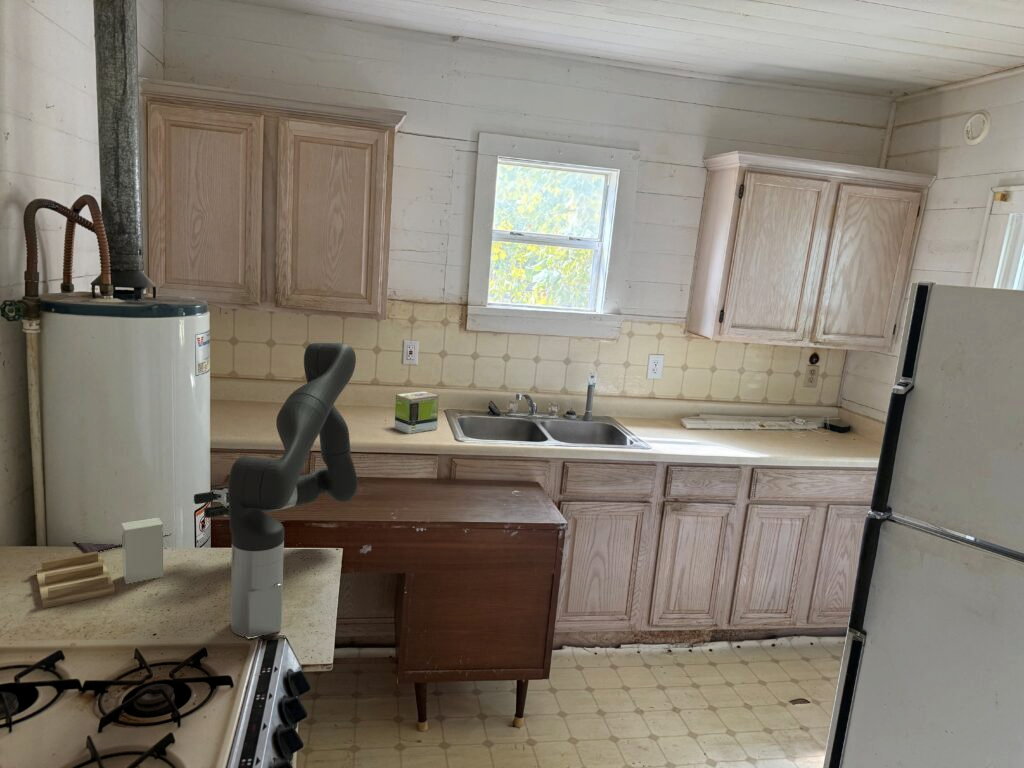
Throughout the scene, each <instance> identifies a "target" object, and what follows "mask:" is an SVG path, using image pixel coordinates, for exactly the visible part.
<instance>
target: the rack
mask: <svg viewBox="0 0 1024 768" xmlns="http://www.w3.org/2000/svg"><path fill="white" fill-rule="evenodd" d="M36 575H37V576H36ZM35 576H36V580H38V581H37V585H38V590H39V595H40V599H41V604H42V609H47V608H48V609H49V608H51V607H56V606H61V605H66V604H71V603H75V602H80V601H85V600H89V599H94V598H99V597H103V596H110V595H113V594H116V586H115V584H114V582H113V580H112V578H111V575H110V572H109V570H108V567H107V565H106V563H105V560H104V557H103V556H99V553H98V552H97V551H96V552H90V553H86V552H85V553H80V554H73V555H68V556H67V555H66V556H62V557H61V556H60V557H56V558H51V559H43V560H41V567H38V568H35Z"/></svg>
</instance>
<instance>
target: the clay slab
mask: <svg viewBox="0 0 1024 768" xmlns="http://www.w3.org/2000/svg"><path fill="white" fill-rule="evenodd" d="M163 527H164V523H163V522H162V520H161V519H160V517H153V518H148V519H141V520H140V519H139V520H134V521H127V522H122V523H121V529H122V547H121V551H122V553H121V555H122V560H121V561H122V578H123V577H124V578H123V580H124V582H125V584H126V585H130V584H129V583H131V584H134V583H133V582H136V583H139V582H138V581H140V582H144V581H143V580H145V581H149V579H150V580H154V579H153V578H155V579H159V577H160V578H164V537H163Z"/></svg>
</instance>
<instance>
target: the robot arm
mask: <svg viewBox="0 0 1024 768" xmlns="http://www.w3.org/2000/svg"><path fill="white" fill-rule="evenodd" d="M356 355H357V354H356V352H355V350H354V348H353V347H352V346H351V345H349V344H346V343H342V342H313V343H310V344H308V345H307V347H306V348H305V351H304V355H303V368H304V369H303V370H304V374H305V379H306V382H307V383H305V384H303V385H301V386H300V387H298V388H296V389H295V390H294V391H292V393H291V394H289V395H288V397H287V398H286V400H285V401H284V403H283V405H282V406H281V408H280V410H279V412H278V414H277V415H276V420H275V422H276V424H275V425H276V429H277V434H278V437H279V438H280V441H281V444H282V445H283V448H284V453H283V455H282V456H281V457H280V458H267V457H266V458H265V457H257V456H256V457H254V456H241V457H239V458H237V459H236V460H235V461H234V463H233V465H232V466H231V469H230V471H229V476H228V484H225V485H220V486H218V485H217V486H213V487H211V489H212V490H211V491H206V492H201V493H200V492H199V493H195V494H194V495H193V503H194V504H195V505H200V504H206V503H212V502H216V503H220V504H217V505H211V506H206V507H205V508H204V509H203V516H204V517H205V518H206V519H208V518H214V517H215V518H216V517H220V516H223V517H228V518H229V531H230V534H231V560H230V561H231V567H230V568H231V571H230V572H231V573H230V574H231V575H230V583H231V584H230V629H231V630H230V631H232V632H233V633H234V634H236V635H237V634H238V636H240V635H243V636H242V637H244V636H247V637H254V636H260V635H264V636H268V635H270V634H271V635H272V634H276V633H279V632H281V629H282V622H283V585H284V582H283V580H284V555H285V554H284V552H285V551H284V549H285V527H284V524H282V522H280V521H279V520H278V519H276V518H274V517H272V516H270V515H268V514H267V513H266V512H272V511H278V510H283V509H284V510H285V509H288V508H292V507H295V506H301V505H307V504H312V503H314V502H316V501H317V499H318V497H320V496H321V495H325V494H326V495H327V494H328V496H329V497H331V498H332V499H333V500H335V501H337V502H340V503H345V502H348V501H351V500H352V499H353V498H354V497H355V495H356V494H357V490H358V476H357V472H356V468H355V464H354V460H353V458H352V453H351V442H350V441H351V439H350V432H349V428H348V424H347V422H346V421H345V419H344V418H343V416H342V414H341V413H340V411H339V410H338V409H337V407H336V406H335V402H336V401H337V399H338V398H339V396H340V394H341V393H342V392H343V390H345V388H346V386H347V385H348V383H349V382H350V380H351V378H352V377H353V374H354V372H355V368H356V364H357V357H356ZM318 436H319V444H320V447H319V448H320V454H321V459H322V462H323V463H324V464H325V465H326V467H323V468H320V469H317V470H314V471H312V472H310V473H307V474H301V473H302V471H303V468H304V465H305V463H306V462H307V458H308V456H309V455H310V454H309V453H310V451H311V450H312V447H313V446H314V443H315V442H316V440H317V438H318Z"/></svg>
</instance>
